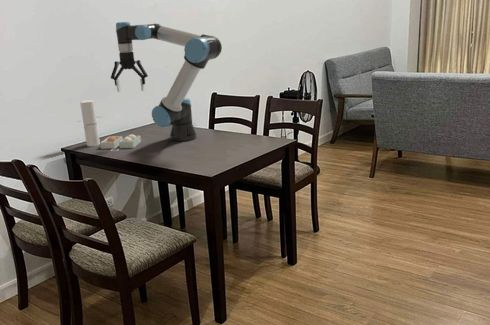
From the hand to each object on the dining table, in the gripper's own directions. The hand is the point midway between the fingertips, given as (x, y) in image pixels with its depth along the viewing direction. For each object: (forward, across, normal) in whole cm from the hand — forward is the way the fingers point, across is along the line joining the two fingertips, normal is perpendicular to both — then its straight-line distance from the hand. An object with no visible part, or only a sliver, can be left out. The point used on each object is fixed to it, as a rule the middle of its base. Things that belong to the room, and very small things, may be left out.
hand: (130, 91), depth 270 cm
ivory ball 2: (+28, +1, +6) cm, 29 cm away
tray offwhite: (+29, +11, +10) cm, 32 cm away
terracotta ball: (+28, +11, +10) cm, 32 cm away
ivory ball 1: (+28, +1, +12) cm, 31 cm away
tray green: (+29, +1, +10) cm, 30 cm away
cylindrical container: (+29, +23, +7) cm, 38 cm away
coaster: (+29, +6, +20) cm, 35 cm away
